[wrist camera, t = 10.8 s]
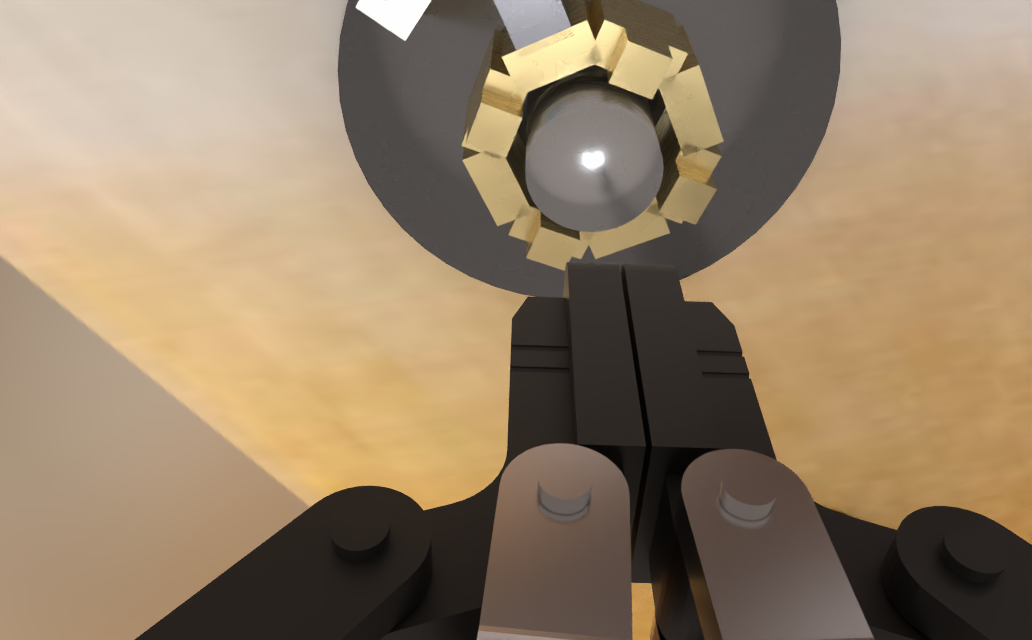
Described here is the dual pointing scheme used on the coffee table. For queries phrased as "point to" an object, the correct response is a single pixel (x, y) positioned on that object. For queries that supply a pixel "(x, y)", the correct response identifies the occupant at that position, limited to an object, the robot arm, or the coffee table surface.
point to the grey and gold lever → (629, 64)
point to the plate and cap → (583, 130)
